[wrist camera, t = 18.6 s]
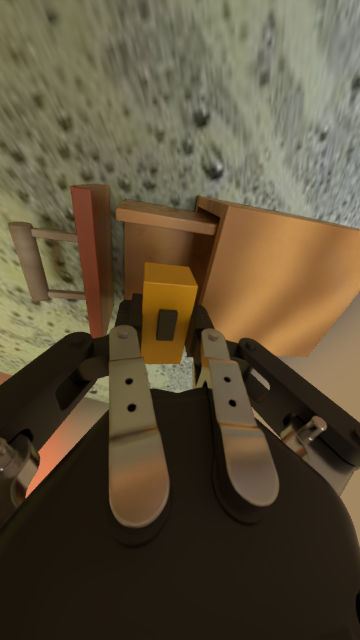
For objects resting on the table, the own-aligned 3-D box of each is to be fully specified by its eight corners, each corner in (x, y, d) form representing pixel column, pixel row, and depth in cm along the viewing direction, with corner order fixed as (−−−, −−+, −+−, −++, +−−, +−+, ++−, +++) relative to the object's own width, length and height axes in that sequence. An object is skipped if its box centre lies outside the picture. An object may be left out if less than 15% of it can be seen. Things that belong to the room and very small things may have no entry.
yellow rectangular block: (144, 261, 11) (143, 285, 9) (189, 266, 12) (200, 289, 9) (140, 345, 15) (138, 378, 13) (173, 346, 16) (178, 378, 13)
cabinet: (176, 309, 28) (187, 355, 21) (198, 195, 20) (228, 204, 12) (269, 315, 31) (307, 356, 24) (320, 220, 23) (401, 238, 16)
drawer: (57, 301, 24) (28, 341, 18) (26, 170, 16) (-43, 164, 10) (209, 311, 28) (225, 346, 22) (239, 210, 20) (277, 223, 15)
